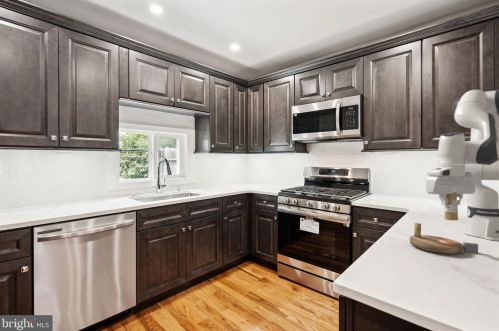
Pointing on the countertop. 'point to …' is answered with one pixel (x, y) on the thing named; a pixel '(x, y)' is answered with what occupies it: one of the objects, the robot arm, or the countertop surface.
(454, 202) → the sprinkles bottle
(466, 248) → the grey polygonal block
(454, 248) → the wooden peg stand
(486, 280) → the countertop surface
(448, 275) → the countertop surface
